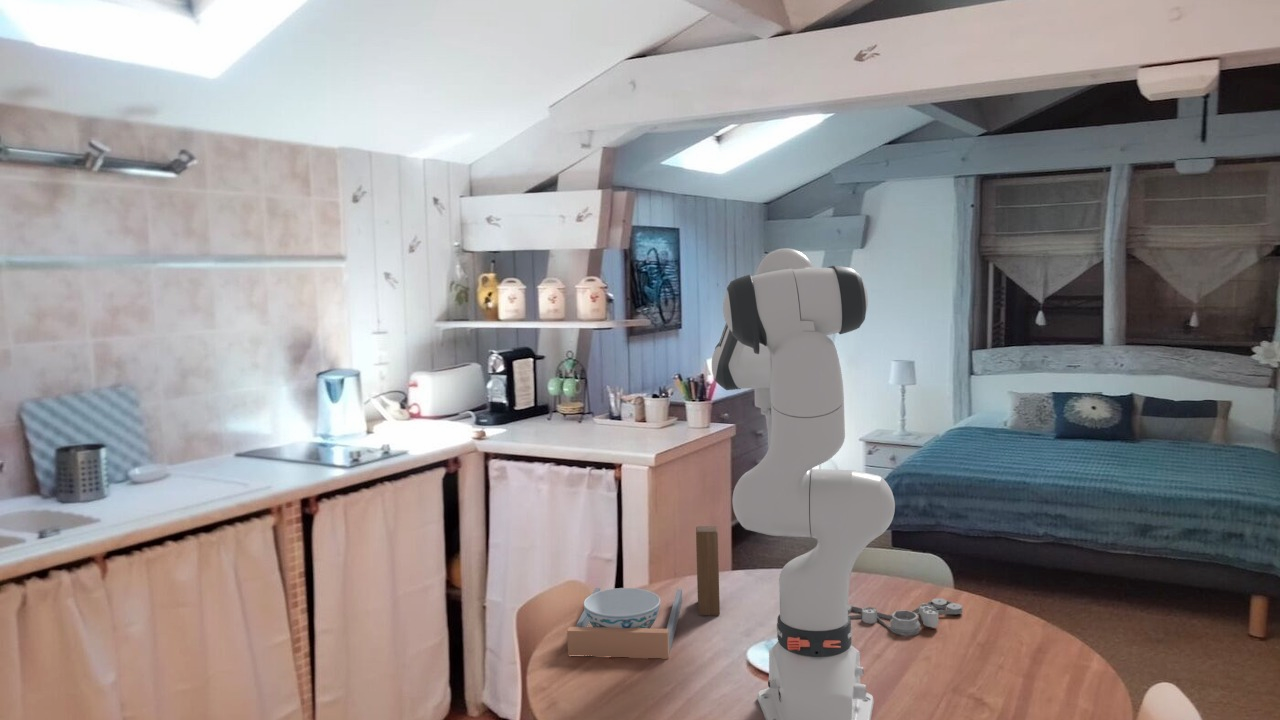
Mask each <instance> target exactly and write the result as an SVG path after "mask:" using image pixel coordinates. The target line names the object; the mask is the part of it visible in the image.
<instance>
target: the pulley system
mask: <svg viewBox="0 0 1280 720" xmlns="http://www.w3.org/2000/svg"><path fill="white" fill-rule="evenodd" d="M852 611H854V612H856V613H857V612H858V613H861V614H853V615H850V614H851V612H852ZM962 613H963V604H959V603H957V602H956V603H955V602H952V601H949V600H946V599H945V598H943V597H942V598H932V599H931V600H930V601H928V602H925V603H923V602H922V603H921V604H919V605H918V607H917V608H915V609H913V610H912V611H911V610H905V609H902V610H901V609H900V610H896V611H895V610H894V611H893V613H891V615H889V614H885V613H882V612H878V611H877V608H876V607H872V606H864V607H862V608H861V607H857V606H854V605H850V604H849V603H848V617H849V618H850V620H851V619H852V620H853V619H862V622H864V623H865V624H876V623H877V622H878V623H880V624H882V625H883V626H884V627H885V628H887V629H888V630H889V631H891V632H892V633H893V634H895V635H899V636H901V637H902V636H903V637H908V636H917V635H918V634H920V633H921V626H922V624H921V623H920V621H921V622H922V623H923V625H924V626H925V627H929V628H935V627H939V615H953V616H956V615H961V614H962ZM881 618H882V619H886V620H889V621H890V622H889V625H888V624H887V623H886V622H884V621H883V620H882V619H881Z"/></svg>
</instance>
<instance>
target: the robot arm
mask: <svg viewBox="0 0 1280 720" xmlns="http://www.w3.org/2000/svg"><path fill="white" fill-rule="evenodd" d="M868 303H869V297H868V291H867V288H866V286H865V283H864V282H863V279H862V276H861V274H860V273H858V272H857V271H856V270H855V269H853V268H851V267H849V266H848V267H847V266H840V265H830V266H827V267H814V265H813V264H812V261H811V260H810V258H808V256H807V255H805V254H804V253H803V252H801V251H799V250H797V249H794V248H788V247H787V248H779V249H778V248H777V249H774V250H773V251H770V252H769V253H768V254H766V255H765V256H764V257H763V258H762V259H761V261H760V263H759V264H758V268H757V269H756V270H755V275H751V274H747V275H743V276H740V277H737V278H735V279H733V280H732V281H730V282H729V284H728V285H727V287H726V293H725V295H724V298H723V303H722V304H723V306H722V313H723V317H724V321H725V325H724V328H723V331H722V334H721V335H720V339H719V342H718V343H717V344H716V346H715V348H714V350H713V354H712V358H711V372H712V373H711V374H712V377H713V379H714V381H715V382H716V383H717V384H718V385H719V386H720V387H721V388H723V389H724V390H726V391H733V390H741V389H753V390H754V406H755V407H756V408H759V409H760V414H761V415H763V416H764V417H765V422H766V429H767V447H768V449H767V452H766V454H765V455H764V457H763V458H762V459H761V461H759V462H758V463H757V465H755V466H753V467H752V468H751V469H749V470H748V471H746V472H745V473H744V474H742V475H741V477H740V478H739V479H738V481H737V482H736V483H735V486H734V489H733V494H732V509H733V510H732V511H733V513H734V515H735V518H736V520H737V522H738V523H739V524H740V526H741V527H742V528H743V529H744V530H747V531H751V532H755V533H759V534H764V535H767V536H768V535H769V536H774V537H776V536H777V537H798V538H801V537H802V538H812V539H815V540H816V541H817V543H816V546H815V547H813V548H812V549H811V550H809V551H808V552H806V553H803V554H801V555H798V556H796V557H794V558H792V559H791V560H789V561H788V562H787V563H786V564H785V565H784V566H783V567H782V569H781V571H780V573H779V578H778V579H779V580H778V581H779V583H778V586H779V589H778V590H779V592H778V593H779V614H778V616H777V618H776V619H777V622H776V632H777V635H776V636H777V641H776V643H775V644H774V645H773V646H772V647H771V648H770V649H769V650H768V681H767V686H768V687H767V688H764V689H761V690H759V691H758V693H757V701H758V703H759V707H760V708H761V712H762V713H763V717H764V719H765V720H872V716H873V715H872V714H873V710H874V709H873V708H874V704H875V702H874V696H873V695H872V694H870V693H869V692H867V684H864V683H861V677H863V676H864V667H863V666H861V663H860V662H861V660H860V659H861V657H860V655H861V654H860V651H859V650H858V649H857V648H856V647H854V646H853V645H852V641H853V640H852V635H853V628H852V623H851V622H852V621H851V619H850V618H849V617H848V616H849V614H848V604H849V594H850V593H849V590H850V581H851V574H852V571H853V569H854V566H855V563H856V561H857V559H858V558H859V556H860V555H861V553H862V552H863V550H865V548H866V547H867V546H868V545H870V543H871V542H873V541H874V540H876V539H877V538H878V537H880V536H881V535H883V534H884V533H885V532H886V531H887V530H888V528H889V527H890V525H891V524H892V522H893V519H894V515H895V509H896V502H895V497H894V494H893V491H892V489H891V487H890V485H889V484H888V482H887V481H886V480H885V479H884V478H883V477H882V476H881V475H877V474H873V473H870V472H864V471H859V470H854V469H829V468H828V469H825V468H823V469H818V468H816V467H817V466H820V465H822V464H824V463H826V462H828V461H830V460H831V459H832V458H834V457H835V456H836V454H837V453H838V452H839V451H840V450H841V448H842V446H843V444H844V442H845V439H846V429H845V426H846V425H845V396H844V395H845V394H844V383H843V381H844V380H843V374H842V368H841V363H840V358H839V354H838V350H837V348H836V345H835V343H834V342H833V340H832V339H831V338H830V337H829V336H830V335H831V336H832V335H834V334H839V335H843V334H847V333H850V332H853V331H856V330H858V329H860V328H861V326H862V325H863V323H864V322H865V320H866V315H867V311H868V305H869V304H868ZM815 468H816V469H815Z"/></svg>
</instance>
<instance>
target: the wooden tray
mask: <svg viewBox="0 0 1280 720" xmlns="http://www.w3.org/2000/svg"><path fill="white" fill-rule="evenodd" d="M600 591H601V587H595V588H594V590H593V592H592V594H594V593H597V592H600ZM682 604H683V589H682V588H678V589H676V593H675V596H674V599H673V604H672V607H671V611H670V614H669V615H670V616H669V619H668V621H667V622H668V623H667V626H666V628H652V627H650V628H607V627H593V626H588V624H589V620H588V618H587V615H586V612H585V608H584V609H583V611H582V613H581V615H580V616H579V618H578V621H577V623H576V624H575V626H569V627H568V629H567V633H566V635H567V636H566V637H567V654H568V655H584V656H585V655H587V656H588V655H589V656H591V655H592V656H611V657H629V658H628V659H648V658H662V659H661V660H668V658H670V654H671V650H672V647H673V646H672V645H673V643H674V642H673V641H674V638H675V634H676V630H677V625H678V621H679V618H680V614H679V613H681V610H680V609H682V606H681V605H682ZM678 617H679V618H678ZM589 625H590V624H589ZM587 626H588V627H587ZM568 655H567V656H568Z"/></svg>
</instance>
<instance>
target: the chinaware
mask: <svg viewBox="0 0 1280 720" xmlns="http://www.w3.org/2000/svg"><path fill="white" fill-rule="evenodd" d="M660 606H661V598H660V596H659V595H657V593H654V592H652V591H650V590H646V589H643V588H634V587H619V588H609V589H603V590H600V592H597V593H594V594H593V593H592V594H591V595H589V596H587V597H586V598H585V599H584V601H583V608H584V609H585V612H586V615H587V618H588V620H589V622H590V625H591V627H607V628H652V626H653V625H654V623H655V621H656V620H657V617H658V615H659V611H660Z"/></svg>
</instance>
